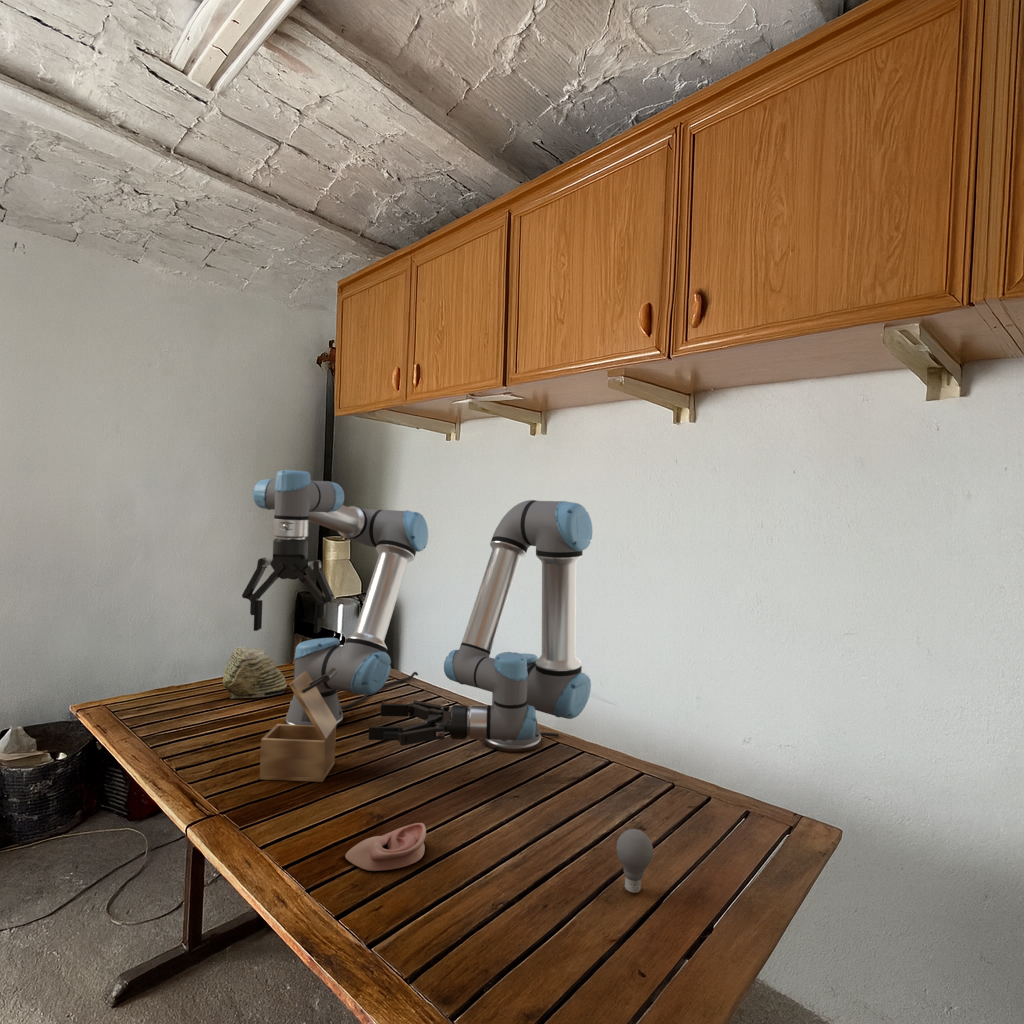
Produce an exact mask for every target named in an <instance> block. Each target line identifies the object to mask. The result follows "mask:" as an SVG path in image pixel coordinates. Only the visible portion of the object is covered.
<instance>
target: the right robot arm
mask: <svg viewBox="0 0 1024 1024" xmlns="http://www.w3.org/2000/svg"><path fill="white" fill-rule="evenodd" d="M592 539H593V523H592V518H591V516H590V514H589V512H588V511H587V509H586V508H585V506H583V505H582V504H580V503H577V502H571V501H567V500H535V499H528V500H524V501H521V502H518V503H517V504H516V505H514V506H513V507H511V509H509V510H508V511H507V512H506V513H505V515H503V517H502V518H501V519H500V521H499V523H498V525H497V526H496V527H495V530H494V532H493V534H492V537H491V539H490V543H489V546H490V548H491V553H490V556H489V558H488V562H487V564H486V568H485V571H484V574H483V577H482V580H481V583H480V586H479V589H478V592H477V595H476V598H475V601H474V604H473V607H472V610H471V613H470V616H469V619H468V622H467V625H466V628H465V631H464V634H463V637H462V640H461V643H460V645H459V648H458V649H453V650H451V651H450V652H449V653H448V655H447V656H445V659H444V662H443V672H444V674H445V676H446V678H447V679H449V681H453V682H456V683H458V684H460V685H465V686H469V687H473V688H476V689H479V690H480V689H481V690H483V691H487V692H490V693H492V694H491V695H492V696H491V697H492V698H491V704H471V705H470V706H468V705H467V704H453V705H451V707H450V705H442V704H441V705H440V704H435V703H430V702H425V701H422V700H413V701H412V702H411V703H406V704H405V703H381V704H380V717H404V718H405V717H409V718H413V717H415V718H418V719H421V720H423V722H419V723H416V724H413V725H409V726H406V727H403V726H401V725H398V726H369V727H368V741H398V742H399V744H400V746H402V747H403V746H408V745H413V744H419V743H424V742H429V741H435V740H438V741H439V740H440V741H441V740H445V738H446V737H445V735H446V734H445V733H449V736H450V739H451V740H467V738H468V739H470V740H478V741H479V742H482V741H483V742H484V744H485V745H486V746H487V747H488V748H491V749H493V750H496V751H499V752H500V751H501V752H506V753H525V752H530V751H533V750H535V749H537V748H539V747H540V746H541V744H542V737H543V736H544V737H556V738H558V737H559V733H558V732H557V733H556V732H544V731H541V730H540V726H539V723H538V719H537V715H536V712H540V713H544V714H546V715H551V716H554V717H556V718H562V719H567V720H573V719H575V718H576V717H578V716H579V715H580V714H582V712H583V711H584V709H585V708H586V706H587V704H588V701H589V698H590V695H591V691H592V690H591V689H592V682H591V679H590V677H589V675H588V674H587V673H585V672H582V671H583V670H582V667H583V666H582V665H583V663H582V661H581V659H580V658H578V657H577V650H576V649H577V563H578V562H579V560H580V559H582V557H583V551H585V550H587V549H588V547H589V546H590V545H591V540H592ZM530 547H535V556H536V558H538V559H539V561H541V655H540V656H539V657H538V655H537V654H534V653H521V652H514V651H513V652H512V651H504V652H503V651H502V652H500V653H498V654H496V655H495V657H494V658H493V657H490V655H491V652H492V649H493V646H494V642H495V641H496V636H497V633H498V630H499V627H500V624H501V621H502V618H503V614H504V611H505V608H506V605H507V602H508V599H509V597H510V592H511V589H512V586H513V583H514V579H515V577H516V574H517V570H518V568H519V564H520V561H521V559H523V558H524V557H526V556H527V553H528V550H529V548H530Z"/></svg>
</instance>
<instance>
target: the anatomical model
mask: <svg viewBox="0 0 1024 1024" xmlns="http://www.w3.org/2000/svg"><path fill="white" fill-rule="evenodd" d="M426 837H427V827H426V824H425V823H423V822H415V823H412V824H408V825H404V826H402V827H399V828H396V829H394V830H392V831H390V832H388V833H384V834H382V835H375V836H372V837H367V838H365V839H364V840H361V841H360V842H358V843H357V844H356V845H353V847H351V848H350V849H349V850H348V851H347V852H346V853H345V856H344V857H345V860H347V862H349V863H350V864H352V865H354V866H356V867H357V868H360V869H362V870H364V871H367V872H378V871H380V872H381V871H389V870H396V869H400V868H404V867H407V866H410V865H412V864H415V863H417V862H418V861H420V860H421V859H422V858H423V857H424V854H425V851H426V849H425V848H426V846H425V843H424V842H425V840H426Z"/></svg>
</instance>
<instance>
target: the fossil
mask: <svg viewBox="0 0 1024 1024" xmlns="http://www.w3.org/2000/svg"><path fill="white" fill-rule="evenodd" d="M222 676H223V677H222V685H223V687H224V688H225V690H226V691H228V693H229V698H230V699H250V698H264V697H271V696H275V695H281V694H284V693H285V691H286V689H287V687H288V686H287V680H286V678H285V676H284V674H283V673H282V672H281V669H279V668H278V667H277V665H276V663H275V662H274V660H273V659H272V658H271V657H270V656H269V655H268V654H267V653H266V652H265V650H264V649H263V648H260V647H258V648H251V647H247V646H246V647H245V646H238V647H237V648H236V649H235V650H233V651H232V653H231V656H230V657H229V659H228V660H227V663H226V666H225V668H224V671H223V675H222Z"/></svg>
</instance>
